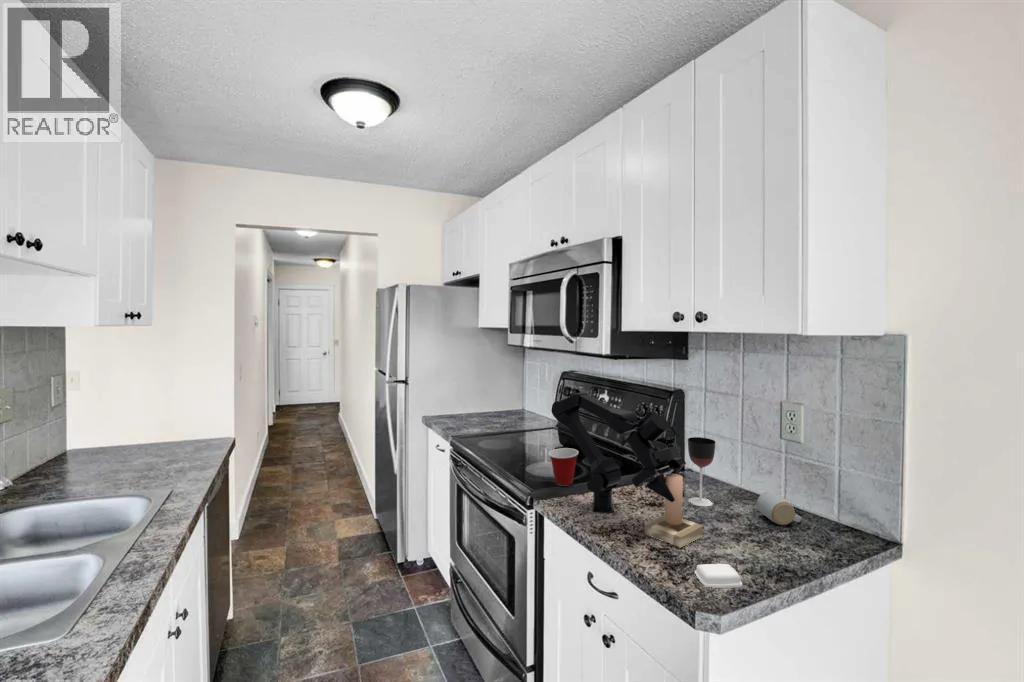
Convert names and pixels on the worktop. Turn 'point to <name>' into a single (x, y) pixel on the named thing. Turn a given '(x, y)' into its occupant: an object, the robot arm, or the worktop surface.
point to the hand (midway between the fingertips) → (678, 499)
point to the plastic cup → (563, 464)
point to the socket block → (674, 531)
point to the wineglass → (701, 461)
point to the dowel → (675, 508)
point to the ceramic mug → (776, 508)
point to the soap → (718, 576)
